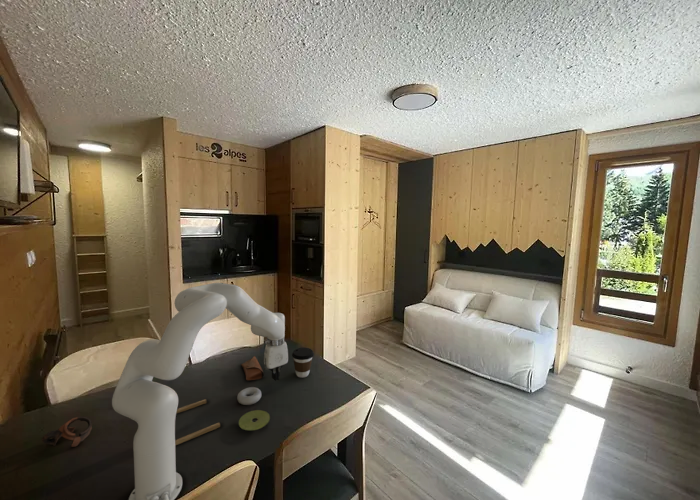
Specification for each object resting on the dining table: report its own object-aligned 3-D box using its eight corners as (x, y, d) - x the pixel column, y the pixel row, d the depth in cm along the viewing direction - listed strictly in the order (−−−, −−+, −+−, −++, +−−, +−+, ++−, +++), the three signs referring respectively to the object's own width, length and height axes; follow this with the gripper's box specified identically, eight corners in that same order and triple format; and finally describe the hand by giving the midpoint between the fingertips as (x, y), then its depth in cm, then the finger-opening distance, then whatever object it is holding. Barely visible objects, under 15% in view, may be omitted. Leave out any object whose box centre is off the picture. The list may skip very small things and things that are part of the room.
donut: (232, 405, 121) (254, 408, 119) (232, 397, 121) (253, 400, 119) (245, 391, 131) (265, 394, 129) (245, 384, 130) (265, 387, 129)
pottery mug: (82, 427, 106) (92, 410, 105) (87, 450, 101) (97, 432, 100) (35, 439, 95) (45, 420, 94) (39, 465, 91) (49, 445, 89)
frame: (220, 427, 108) (220, 424, 108) (166, 449, 97) (166, 446, 97) (205, 401, 122) (205, 398, 122) (157, 418, 111) (157, 415, 111)
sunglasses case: (239, 364, 153) (246, 352, 155) (251, 368, 157) (257, 356, 158) (246, 381, 138) (253, 367, 139) (259, 384, 141) (266, 372, 143)
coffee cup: (287, 378, 143) (288, 354, 142) (296, 367, 153) (297, 345, 152) (308, 381, 140) (309, 358, 139) (316, 370, 151) (317, 348, 150)
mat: (248, 440, 102) (248, 434, 102) (233, 424, 110) (233, 419, 109) (275, 423, 111) (275, 419, 111) (259, 410, 118) (259, 406, 118)
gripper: (263, 348, 123) (263, 388, 125) (294, 339, 133) (294, 377, 135) (256, 342, 128) (256, 381, 130) (286, 334, 138) (286, 370, 140)
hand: (275, 379), depth 133 cm, fingers closed
